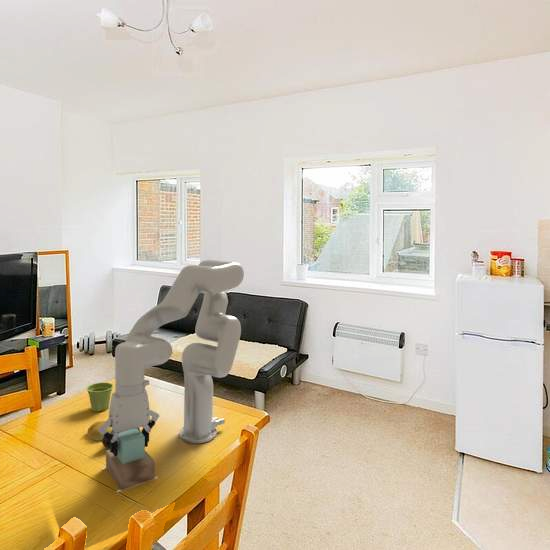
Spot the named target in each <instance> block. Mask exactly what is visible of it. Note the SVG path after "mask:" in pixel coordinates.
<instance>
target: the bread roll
mask: <svg viewBox="0 0 550 550" xmlns="http://www.w3.org/2000/svg"><path fill="white" fill-rule="evenodd" d="M105 421H106V420H99V421H96V422H94V423H93V424H91V425H90V426H89V427H88V428H87V435H88V436H89V438H90V439H91V440H92V441H102V439H103V437H104V436H103V435H102V434H101V433H100V432H99V431H98V428H99V427H100V426H101V425H102V424H103V423H104V422H105ZM111 430H112V427H108V428H107V429H106V431H107V432H108V433H110V432H111Z"/></svg>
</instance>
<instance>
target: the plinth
mask: <svg viewBox="0 0 550 550" xmlns="http://www.w3.org/2000/svg"><path fill="white" fill-rule="evenodd" d="M155 464H156V461H155V460H154V459H153V458H152V456H151V455H150V454H149V453H148V452H147V451H146V450H145V457H144V458H141V459H138V460H135V461H131V462H128V463H125V464H122V463H121V461H120V460H119V459H118V457H117V456H114V454H113V453H111V452H110V449H107V450H105V467H106V468H107V469H106V470H107V471H108V473H109V474H110V476H111V478H112V479H113V481H114V482H115V484H116V485H117V487H118V488H119V489H121V490H123V491H124V489H125V490H128V489H131V488H133V486H134V487H136V486H135V485H137V486H139V485H141V483H142V484H145V483H147V481H148V482H150V480H151V481H153V480H152V479H154V480H156V479H155V477H156V476H155V475H156V474H155V473H156V470H155V468H156V467H155V466H156V465H155ZM144 482H145V483H144ZM138 484H139V485H138ZM130 487H131V488H130ZM127 488H128V489H127Z"/></svg>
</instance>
